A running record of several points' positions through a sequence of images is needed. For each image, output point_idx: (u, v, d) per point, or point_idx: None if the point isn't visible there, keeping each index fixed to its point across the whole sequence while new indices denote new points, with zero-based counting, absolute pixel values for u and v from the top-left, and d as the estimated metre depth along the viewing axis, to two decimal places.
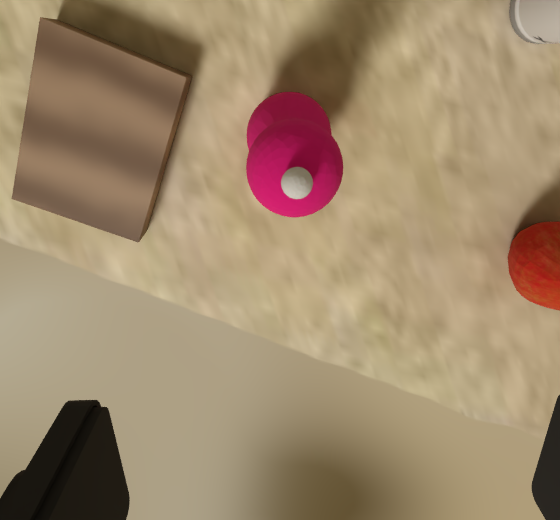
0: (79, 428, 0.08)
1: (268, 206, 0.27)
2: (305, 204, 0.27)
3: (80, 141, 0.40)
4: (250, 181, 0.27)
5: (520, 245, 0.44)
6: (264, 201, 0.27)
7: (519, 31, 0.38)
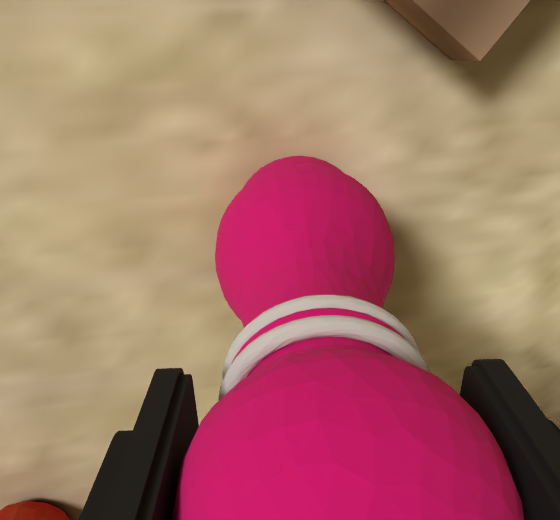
0: (173, 391, 0.09)
1: (252, 511, 0.06)
2: None
3: None
4: (378, 450, 0.06)
5: None
6: (284, 519, 0.06)
7: None
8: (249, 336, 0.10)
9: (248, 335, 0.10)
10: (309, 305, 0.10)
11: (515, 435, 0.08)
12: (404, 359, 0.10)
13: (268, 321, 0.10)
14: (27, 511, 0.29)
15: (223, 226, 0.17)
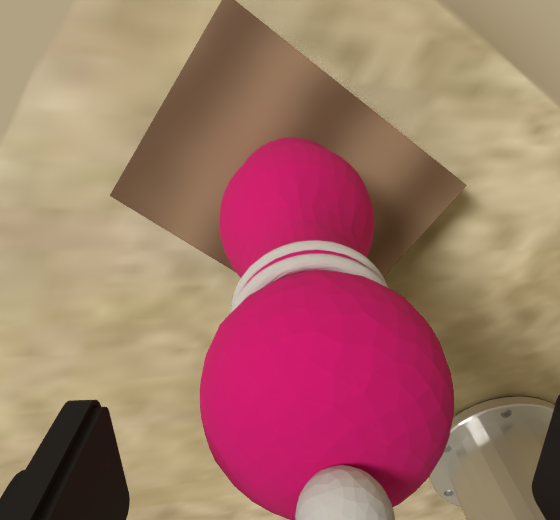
0: (79, 428, 0.08)
1: (260, 365, 0.09)
2: (251, 477, 0.09)
3: None
4: (345, 324, 0.09)
5: None
6: (282, 367, 0.09)
7: None
8: (252, 274, 0.13)
9: (252, 273, 0.13)
10: (300, 248, 0.13)
11: None
12: None
13: (267, 261, 0.13)
14: None
15: (226, 196, 0.20)
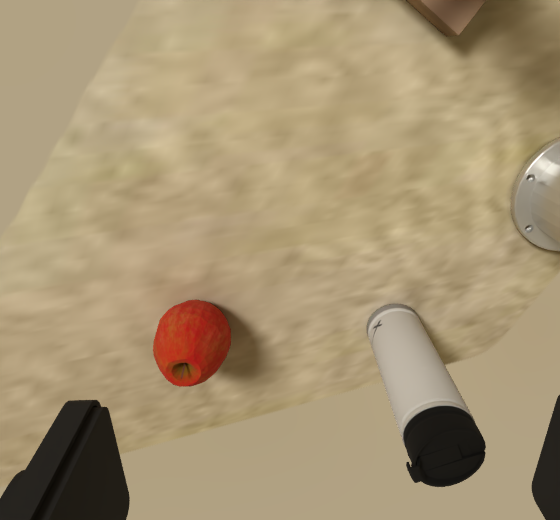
0: (79, 428, 0.08)
1: None
2: None
3: None
4: None
5: (214, 312, 0.48)
6: None
7: (383, 310, 0.52)
8: None
9: None
10: None
11: None
12: None
13: None
14: (202, 301, 0.50)
15: None
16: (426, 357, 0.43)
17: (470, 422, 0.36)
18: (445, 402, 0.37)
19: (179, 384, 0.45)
